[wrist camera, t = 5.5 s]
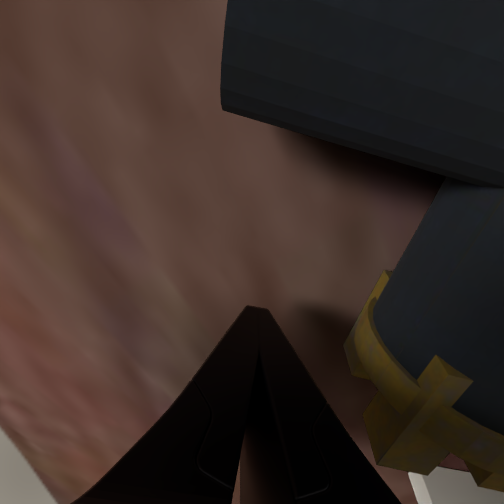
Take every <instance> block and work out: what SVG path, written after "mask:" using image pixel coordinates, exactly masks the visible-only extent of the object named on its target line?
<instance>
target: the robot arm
mask: <svg viewBox="0 0 504 504" xmlns="http://www.w3.org/2000/svg"><path fill="white" fill-rule="evenodd" d="M239 460H240V504H401V502H400V501H399V500H398V498H397V497H396V496H395V495H394V493H393V492H392V491H391V489H390V488H389V487H388V486H387V484H386V483H385V482H384V480H383V479H382V478H381V476H380V475H379V474H378V473H377V471H376V470H375V469H374V467H373V466H372V465H371V464H370V462H369V461H368V460H367V458H366V457H365V456H364V454H363V453H362V452H361V450H360V449H359V448H358V446H357V445H356V444H355V442H354V441H353V440H352V438H351V437H350V435H349V434H348V432H347V431H346V429H345V428H344V426H343V425H342V424H341V422H340V421H339V419H338V418H337V416H336V415H335V413H334V411H333V410H332V408H331V407H330V405H329V404H328V403H327V401H326V399H325V398H324V396H323V394H322V393H321V391H320V390H319V388H318V387H317V385H316V383H315V382H314V380H313V379H312V377H311V376H310V374H309V372H308V371H307V369H306V368H305V366H304V365H303V363H302V361H301V360H300V358H299V357H298V355H297V354H296V352H295V350H294V349H293V347H292V346H291V344H290V343H289V341H288V339H287V338H286V336H285V335H284V333H283V332H282V330H281V329H280V327H279V325H278V324H277V322H276V321H275V319H274V318H273V316H272V314H271V313H270V311H269V310H268V309H265V308H260V307H254V306H249V305H247V306H246V307H245V308H244V309H243V311H242V312H241V313H240V315H239V316H238V317H237V319H236V320H235V321H234V323H233V324H232V325H231V327H230V328H229V329H228V331H227V332H226V334H225V335H224V336H223V338H222V339H221V340H220V342H219V343H218V344H217V346H216V347H215V348H214V350H213V351H212V352H211V354H210V355H209V356H208V358H207V359H206V361H205V362H204V363H203V365H202V366H201V367H200V369H199V370H198V371H197V373H196V374H195V375H194V377H193V378H192V381H190V382H189V383H188V385H187V386H186V387H185V389H184V390H183V391H182V393H181V394H180V395H179V396H178V398H177V399H176V400H175V401H174V403H173V404H172V405H171V406H170V408H169V409H168V410H167V411H166V412H165V413H164V414H163V415H162V416H161V417H160V419H159V420H158V421H157V422H156V423H155V424H154V425H153V426H152V427H151V428H150V429H149V430H148V431H147V432H146V433H145V434H144V435H143V436H142V437H141V438H140V439H139V440H138V442H137V443H136V444H135V445H134V446H133V447H132V448H131V449H130V450H129V451H128V452H127V453H126V454H125V455H124V456H123V457H122V458H121V459H120V460H119V461H118V462H117V463H116V464H115V465H114V466H113V467H112V468H111V469H110V470H109V471H108V472H107V473H106V474H105V475H104V476H103V477H102V478H101V479H100V480H99V481H98V482H97V483H96V484H95V485H94V486H92V487H91V488H90V489H89V490H88V491H87V492H85V493H84V494H83V495H82V496H81V497H79V498H78V499H76V500H75V501H73V502H72V503H70V504H231V503H232V498H233V492H234V487H235V482H236V476H237V471H238V466H239Z"/></svg>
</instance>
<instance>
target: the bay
mask: <svg viewBox="0 0 504 504" xmlns="http://www.w3.org/2000/svg"><path fill="white" fill-rule="evenodd" d="M408 475H409V478H410V481H411V484H412V487H413V490H414V493H415V496H416V499H417V501H418V504H504V492H500V491H496V490H491V489H486V488H482V487H478V486H477V484H476V483H475V481H474V479H473V477H472V475H471V473H470V472H464V471H459V470H453V469H448V468H443V467H436V468H435V469H434V470H433V471H432V472H431V473H430V474H429V475H428V476H426V475H421V474H417V473H412V472H409V473H408Z"/></svg>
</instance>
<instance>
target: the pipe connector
mask: <svg viewBox="0 0 504 504" xmlns="http://www.w3.org/2000/svg"><path fill="white" fill-rule="evenodd" d="M220 92H221V105H222V109H223V110H224V111H227V112H230V113H234V114H237V115H241V116H244V117H247V118H251V119H254V120H257V121H261V122H264V123H268V124H271V125H274V126H278V127H281V128H285V129H288V130H291V131H295V132H298V133H302V134H305V135H308V136H312V137H315V138H318V139H322V140H325V141H329V142H332V143H335V144H339V145H342V146H346V147H349V148H352V149H356V150H359V151H363V152H366V153H369V154H373V155H376V156H380V157H383V158H386V159H390V160H393V161H396V162H400V163H403V164H407V165H410V166H413V167H417V168H420V169H424V170H427V171H430V172H434V173H437V174H441V175H444V176H447V177H446V179H445V180H444V182H443V184H442V186H441V187H440V189H439V191H438V193H437V195H436V196H435V198H434V200H433V202H432V203H431V205H430V207H429V209H428V211H427V212H426V214H425V216H424V218H423V220H422V221H421V223H420V225H419V227H418V228H417V230H416V232H415V234H414V236H413V237H412V239H411V241H410V243H409V245H408V246H407V248H406V250H405V252H404V253H403V255H402V257H401V259H400V261H399V262H398V264H397V266H396V268H395V269H394V271H393V272H390V271H387V270H384V271H383V272H382V274H381V276H380V278H379V280H378V282H377V284H376V285H375V287H374V289H373V291H372V293H371V295H370V296H369V298H368V300H367V302H366V304H365V306H364V307H363V309H362V311H361V313H360V315H359V317H358V319H357V320H356V322H355V324H354V326H353V328H352V330H351V331H350V333H349V335H348V337H347V339H346V341H345V342H344V344H343V347H344V350H345V354H346V357H347V361H348V365H349V368H350V372H351V375H352V376H355V377H359V378H363V379H368V380H371V381H372V382H373V384H374V385H375V386H376V388H377V389H378V390H379V391H378V392H377V393H376V395H375V396H374V398H373V399H372V401H371V402H370V404H369V405H368V407H367V408H366V410H365V411H364V413H363V414H362V415H363V418H364V422H365V425H366V429H367V433H368V436H369V440H370V443H371V447H372V450H373V454H374V458H375V461H376V465H379V466H384V467H389V468H393V469H398V470H403V471H407V472H412V473H417V474H421V475H426V476H428V475H429V474H430V473H431V472H432V471H433V470H434V469H435V468H436V467H437V466H438V465H439V464H440V463H441V462H442V461H443V460H444V458H445V457H446V456H447V455H448V454H449V453H450V452H451V453H452V454H454V455H455V456H457V457H459V458H461V459H463V460H464V461H465V463H466V465H467V467H468V469H469V471H470V473H471V475H472V477H473V479H474V481H475V483H476V484H477V486H478V487H482V488H486V489H491V490H496V491H500V492H504V0H228V3H227V11H226V20H225V29H224V40H223V51H222V62H221V84H220Z"/></svg>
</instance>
